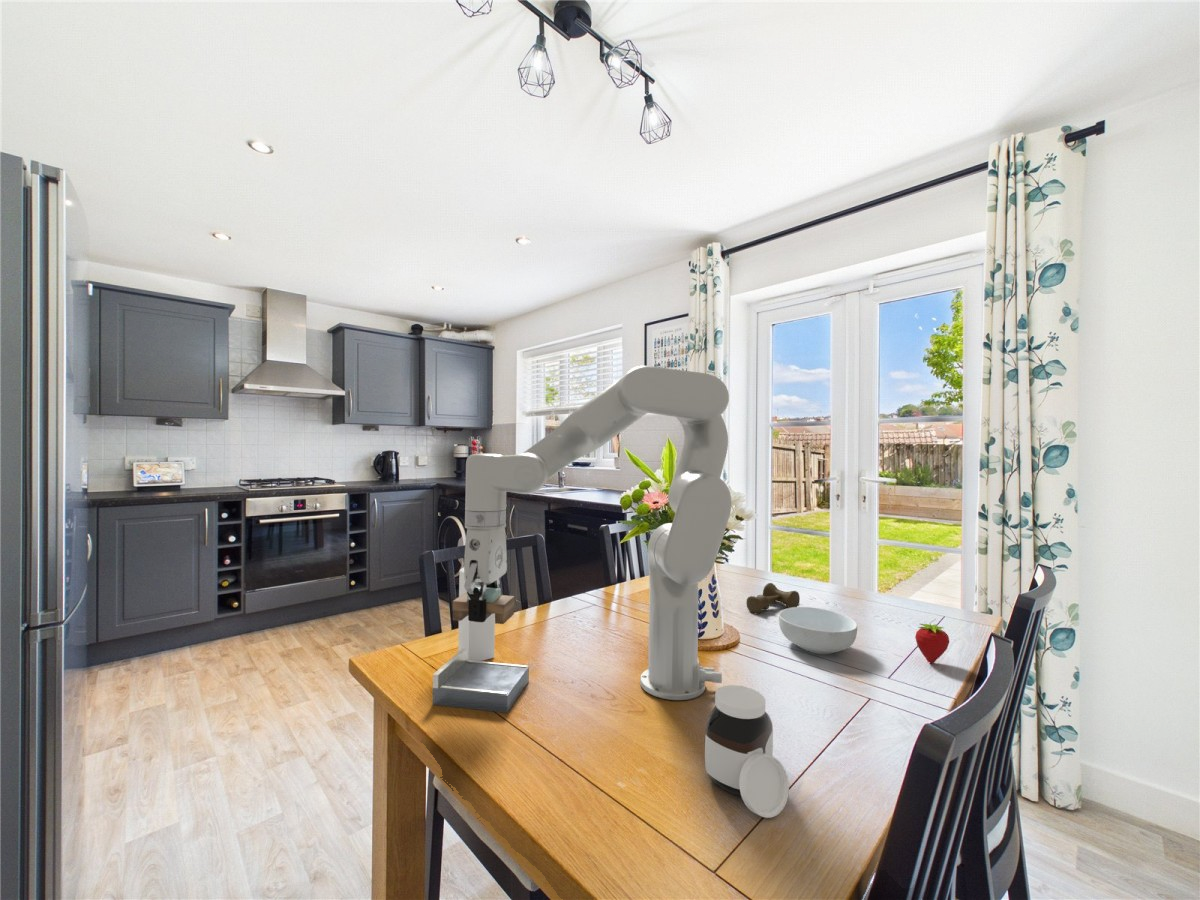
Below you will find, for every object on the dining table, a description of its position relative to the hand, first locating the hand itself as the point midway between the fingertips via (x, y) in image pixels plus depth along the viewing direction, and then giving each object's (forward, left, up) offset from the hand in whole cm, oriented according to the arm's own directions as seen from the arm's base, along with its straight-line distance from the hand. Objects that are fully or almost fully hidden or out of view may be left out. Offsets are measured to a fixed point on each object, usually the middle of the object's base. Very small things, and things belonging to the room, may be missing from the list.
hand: (484, 614), depth 94 cm
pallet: (0, 0, 0) cm, 0 cm away
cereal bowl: (-68, -36, -15) cm, 78 cm away
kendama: (-63, -66, -15) cm, 92 cm away
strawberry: (-91, -32, -15) cm, 98 cm away
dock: (0, 0, -15) cm, 15 cm away
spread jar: (-46, +18, -15) cm, 52 cm away
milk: (+8, -15, -15) cm, 23 cm away
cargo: (0, 0, +3) cm, 3 cm away
